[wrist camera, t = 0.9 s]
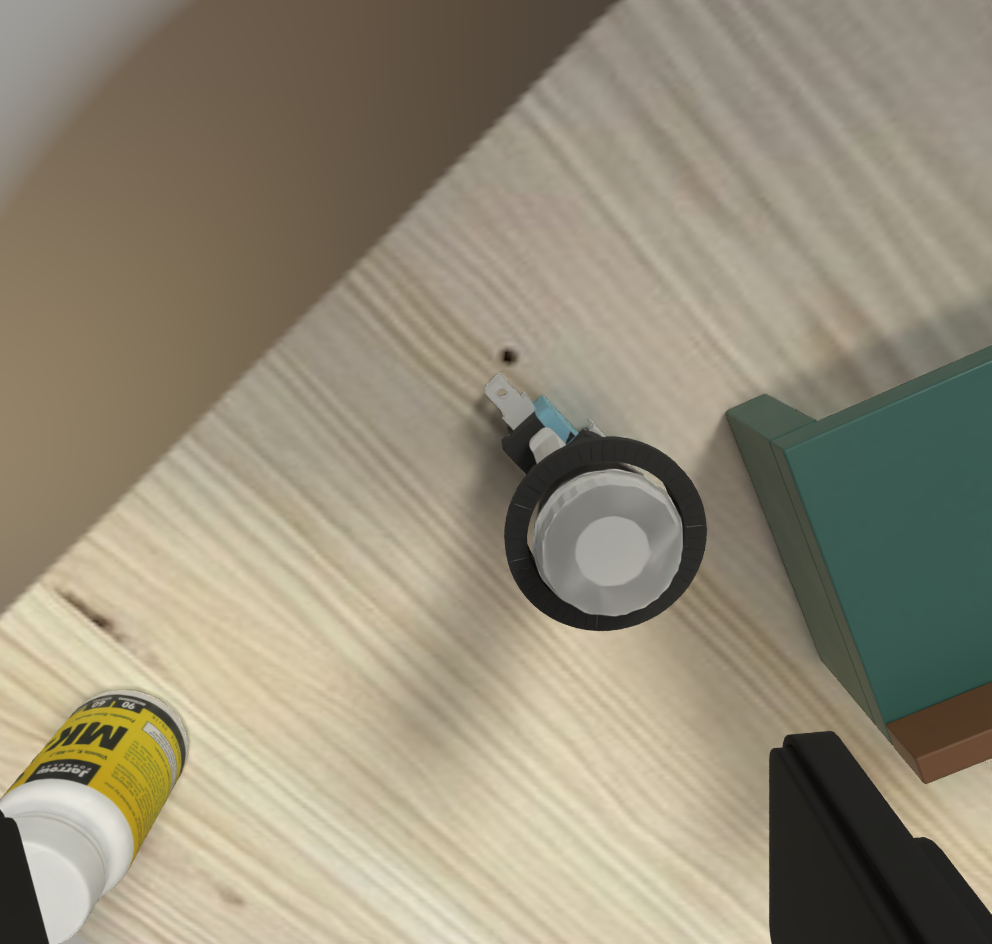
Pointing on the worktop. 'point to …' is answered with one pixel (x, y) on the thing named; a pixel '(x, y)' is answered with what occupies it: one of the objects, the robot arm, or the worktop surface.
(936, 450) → the shelf
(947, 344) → the worktop surface
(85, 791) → the supplement bottle
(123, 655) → the worktop surface
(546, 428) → the push button
